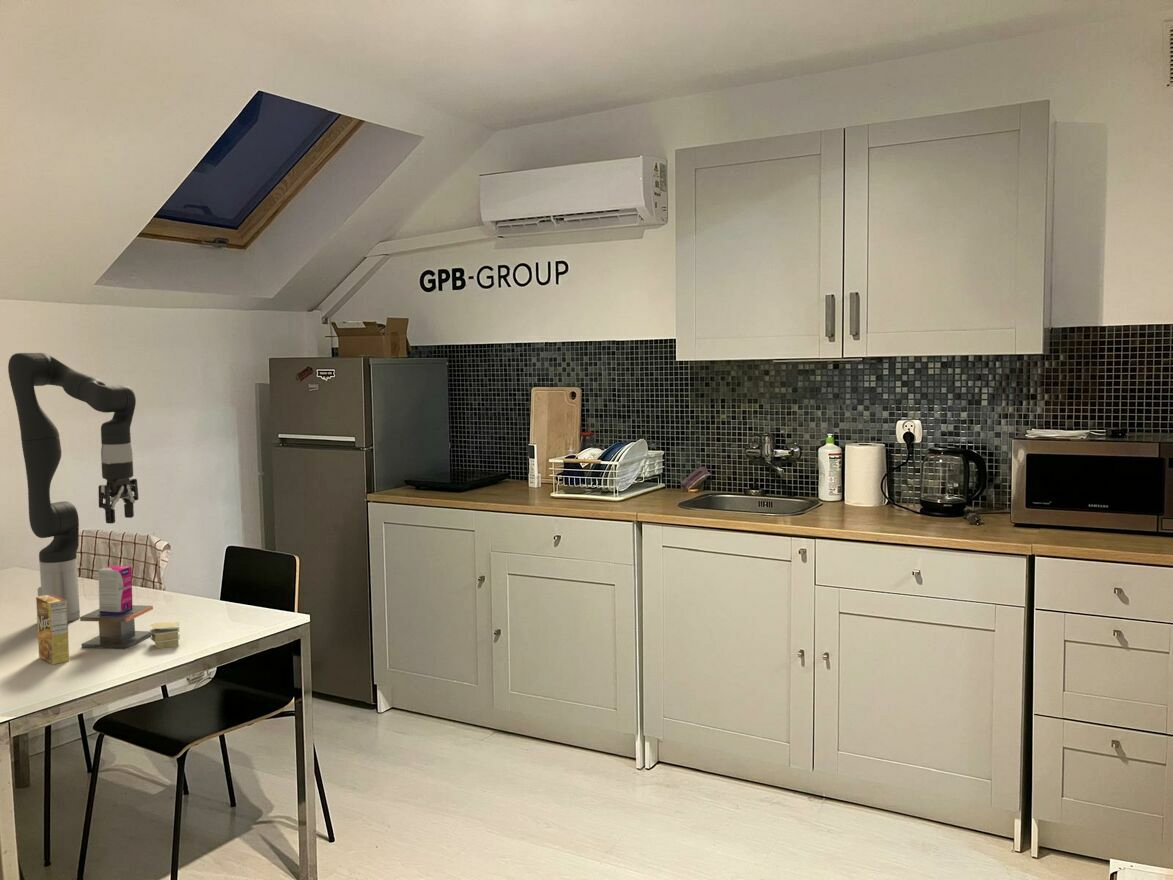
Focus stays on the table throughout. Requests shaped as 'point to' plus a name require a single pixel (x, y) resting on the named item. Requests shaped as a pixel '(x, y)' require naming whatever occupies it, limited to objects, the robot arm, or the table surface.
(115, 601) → the supplement box
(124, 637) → the stand
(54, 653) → the candy box
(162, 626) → the tan layered block
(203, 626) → the table surface
